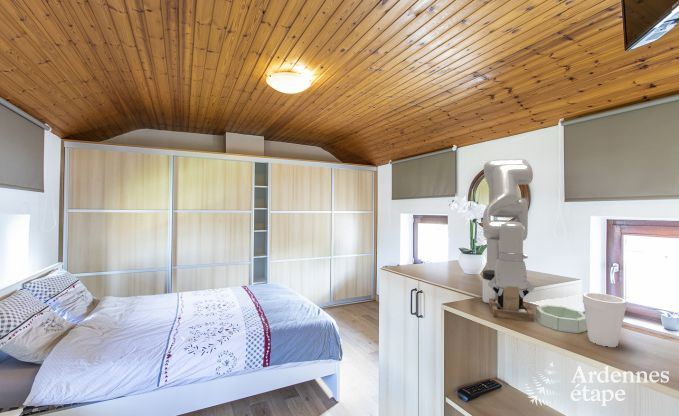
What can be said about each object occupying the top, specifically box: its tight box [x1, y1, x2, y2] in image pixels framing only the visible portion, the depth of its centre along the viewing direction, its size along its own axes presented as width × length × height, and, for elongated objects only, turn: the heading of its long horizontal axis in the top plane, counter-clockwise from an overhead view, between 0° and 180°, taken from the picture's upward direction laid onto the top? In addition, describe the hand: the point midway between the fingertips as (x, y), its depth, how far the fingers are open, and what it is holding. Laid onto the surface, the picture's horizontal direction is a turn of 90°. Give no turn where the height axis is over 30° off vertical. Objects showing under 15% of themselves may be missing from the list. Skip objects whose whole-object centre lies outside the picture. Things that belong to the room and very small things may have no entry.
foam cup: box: [582, 292, 627, 348], centre depth 87 cm, size 10×9×13 cm
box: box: [500, 286, 519, 311], centre depth 110 cm, size 5×4×11 cm
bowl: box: [535, 304, 588, 334], centre depth 100 cm, size 13×13×4 cm
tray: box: [488, 299, 535, 322], centre depth 110 cm, size 13×12×2 cm
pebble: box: [494, 300, 501, 309], centre depth 115 cm, size 3×3×3 cm
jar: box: [481, 269, 498, 304], centre depth 122 cm, size 9×8×12 cm
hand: (509, 306), depth 110 cm, fingers closed on box, 5 cm apart
